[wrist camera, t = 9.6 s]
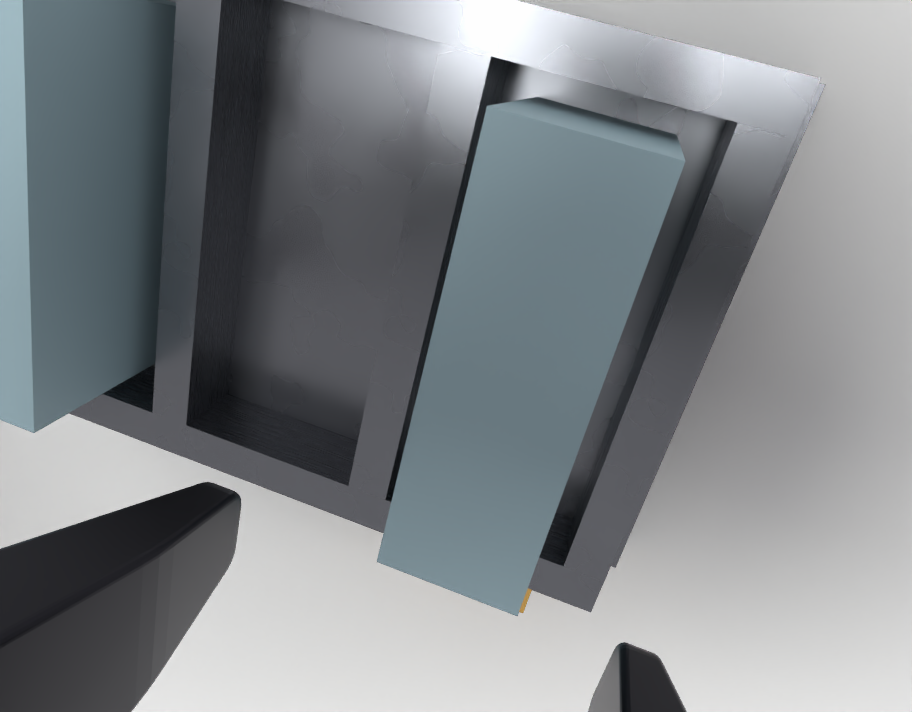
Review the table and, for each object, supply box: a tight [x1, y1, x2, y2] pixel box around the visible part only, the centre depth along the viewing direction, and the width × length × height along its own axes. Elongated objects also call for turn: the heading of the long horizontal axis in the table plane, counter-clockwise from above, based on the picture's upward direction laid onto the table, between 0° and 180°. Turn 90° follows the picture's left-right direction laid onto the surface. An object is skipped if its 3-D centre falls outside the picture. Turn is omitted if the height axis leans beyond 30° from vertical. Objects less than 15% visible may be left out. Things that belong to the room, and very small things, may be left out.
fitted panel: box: [0, 0, 176, 433], centre depth 16 cm, size 9×3×5 cm, turn 166°
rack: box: [70, 0, 826, 613], centre depth 17 cm, size 13×19×3 cm
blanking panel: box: [377, 97, 685, 616], centre depth 14 cm, size 9×3×5 cm, turn 166°
